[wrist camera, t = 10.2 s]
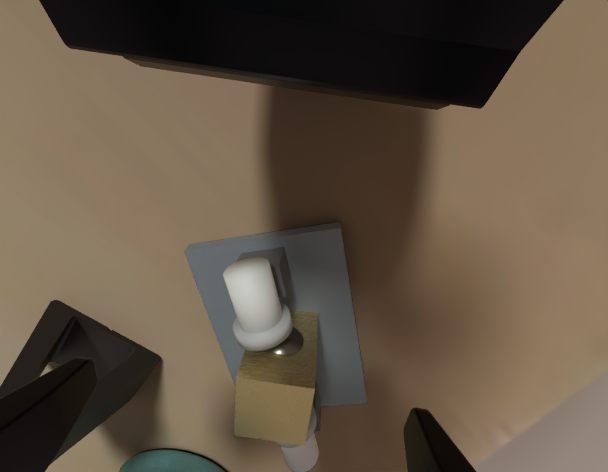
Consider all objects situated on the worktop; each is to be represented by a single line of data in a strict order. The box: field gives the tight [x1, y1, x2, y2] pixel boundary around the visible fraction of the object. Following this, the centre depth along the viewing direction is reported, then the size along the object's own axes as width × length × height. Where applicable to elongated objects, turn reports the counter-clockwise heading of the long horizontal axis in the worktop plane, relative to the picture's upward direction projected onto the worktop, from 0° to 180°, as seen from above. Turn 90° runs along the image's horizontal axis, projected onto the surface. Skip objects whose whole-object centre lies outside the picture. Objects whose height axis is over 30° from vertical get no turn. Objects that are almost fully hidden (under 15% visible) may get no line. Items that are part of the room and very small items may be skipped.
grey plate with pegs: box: [184, 222, 368, 472], centre depth 20 cm, size 15×10×6 cm, turn 11°
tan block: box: [234, 309, 318, 446], centre depth 19 cm, size 5×4×6 cm
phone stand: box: [0, 300, 160, 464], centre depth 20 cm, size 9×6×12 cm, turn 53°
